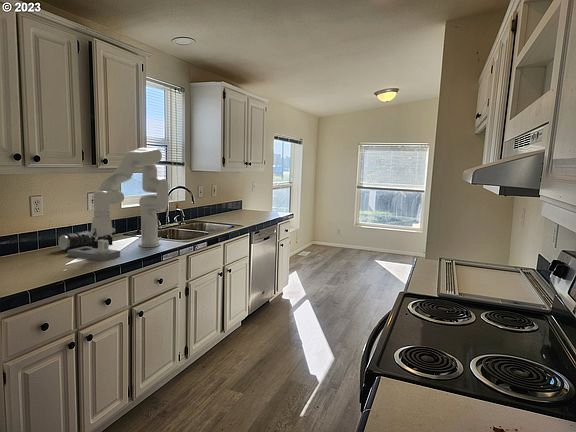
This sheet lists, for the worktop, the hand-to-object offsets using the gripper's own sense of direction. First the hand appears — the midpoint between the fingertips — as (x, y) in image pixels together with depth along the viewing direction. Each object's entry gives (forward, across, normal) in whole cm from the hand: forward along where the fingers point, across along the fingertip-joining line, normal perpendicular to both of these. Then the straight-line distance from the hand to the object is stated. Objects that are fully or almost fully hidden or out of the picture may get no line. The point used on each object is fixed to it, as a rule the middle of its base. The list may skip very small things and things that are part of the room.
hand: (102, 246), depth 204 cm
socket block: (+6, 0, -6) cm, 9 cm away
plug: (+6, 0, 0) cm, 6 cm away
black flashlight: (+7, -14, -27) cm, 31 cm away
